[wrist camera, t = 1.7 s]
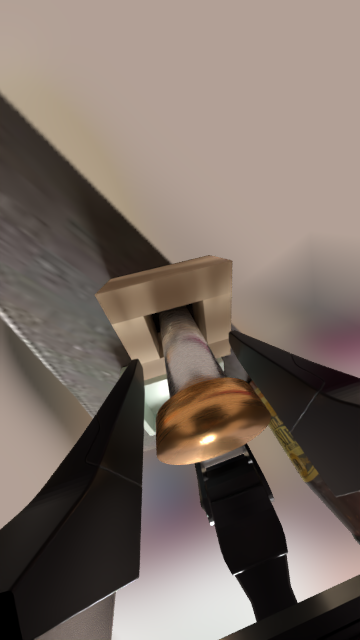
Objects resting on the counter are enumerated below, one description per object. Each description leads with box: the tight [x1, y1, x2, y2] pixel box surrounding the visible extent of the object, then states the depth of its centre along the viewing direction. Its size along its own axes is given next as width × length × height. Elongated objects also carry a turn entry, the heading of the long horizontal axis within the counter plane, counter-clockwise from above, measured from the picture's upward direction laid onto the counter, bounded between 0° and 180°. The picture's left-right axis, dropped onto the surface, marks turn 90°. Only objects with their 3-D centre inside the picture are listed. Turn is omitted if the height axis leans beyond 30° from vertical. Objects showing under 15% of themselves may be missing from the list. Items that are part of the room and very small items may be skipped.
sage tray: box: [119, 357, 224, 436], centre depth 19 cm, size 12×12×4 cm
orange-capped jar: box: [155, 305, 271, 465], centre depth 10 cm, size 4×4×11 cm
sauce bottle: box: [249, 380, 360, 544], centre depth 17 cm, size 6×6×20 cm
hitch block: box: [95, 255, 232, 380], centre depth 13 cm, size 9×9×4 cm
